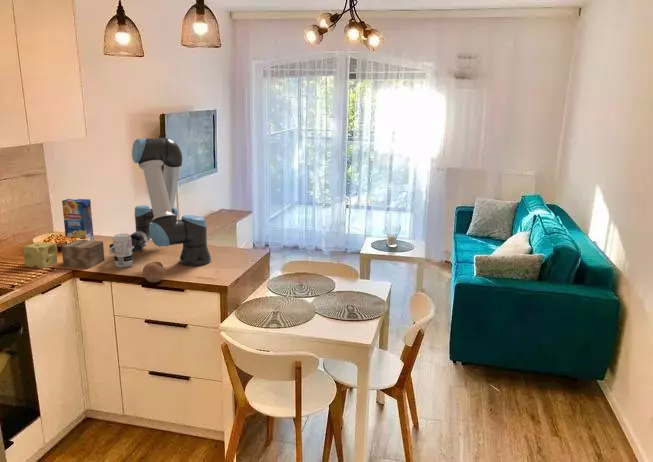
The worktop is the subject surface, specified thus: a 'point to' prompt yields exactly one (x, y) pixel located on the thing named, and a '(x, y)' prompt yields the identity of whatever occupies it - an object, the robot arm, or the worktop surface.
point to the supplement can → (122, 250)
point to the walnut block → (83, 253)
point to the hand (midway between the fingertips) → (119, 252)
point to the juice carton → (78, 218)
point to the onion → (153, 272)
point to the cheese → (40, 254)
